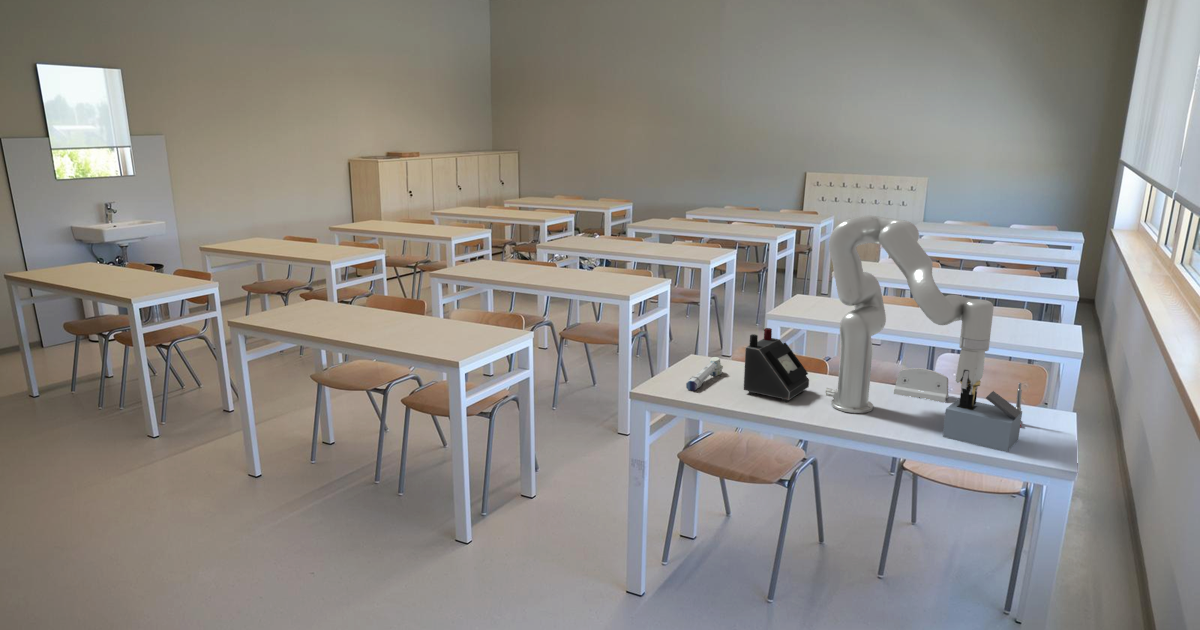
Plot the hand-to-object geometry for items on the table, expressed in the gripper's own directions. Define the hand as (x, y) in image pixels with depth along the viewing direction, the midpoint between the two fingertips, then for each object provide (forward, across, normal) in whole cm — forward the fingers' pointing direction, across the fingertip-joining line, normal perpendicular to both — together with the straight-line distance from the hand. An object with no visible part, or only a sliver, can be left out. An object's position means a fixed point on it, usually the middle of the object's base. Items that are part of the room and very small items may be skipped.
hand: (967, 404), depth 221 cm
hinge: (+9, -27, -22) cm, 36 cm away
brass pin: (+2, 0, 0) cm, 2 cm away
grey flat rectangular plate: (-2, 0, +9) cm, 9 cm away
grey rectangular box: (+9, 0, +4) cm, 10 cm away
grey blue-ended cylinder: (+9, +7, -84) cm, 85 cm away
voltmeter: (+9, +2, -59) cm, 60 cm away
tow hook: (+9, -18, +6) cm, 21 cm away
